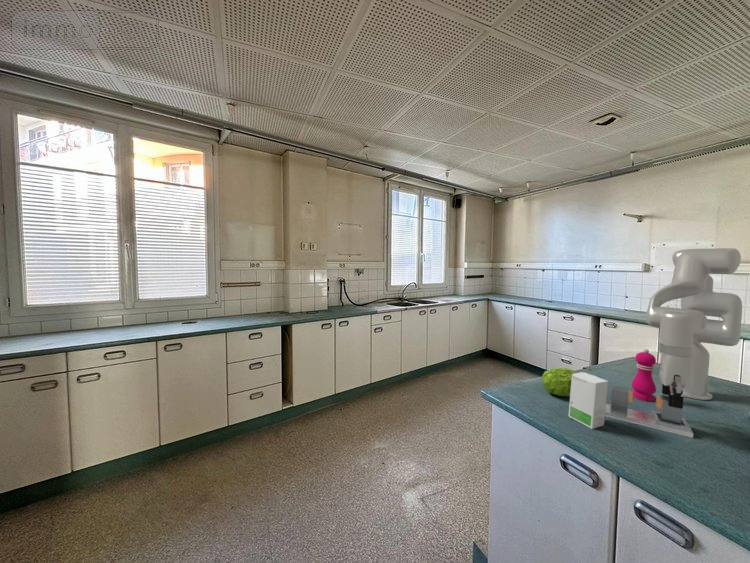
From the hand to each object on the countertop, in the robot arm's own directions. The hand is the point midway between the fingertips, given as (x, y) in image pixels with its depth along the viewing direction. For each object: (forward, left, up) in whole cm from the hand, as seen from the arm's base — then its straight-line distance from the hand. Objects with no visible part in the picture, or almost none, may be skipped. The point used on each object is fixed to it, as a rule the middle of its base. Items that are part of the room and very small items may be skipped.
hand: (671, 400), depth 96 cm
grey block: (+1, 0, -7) cm, 7 cm away
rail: (+1, -7, -9) cm, 11 cm away
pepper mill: (-22, -4, -9) cm, 24 cm away
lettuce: (-11, -29, -9) cm, 33 cm away
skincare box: (+13, -22, -9) cm, 27 cm away
